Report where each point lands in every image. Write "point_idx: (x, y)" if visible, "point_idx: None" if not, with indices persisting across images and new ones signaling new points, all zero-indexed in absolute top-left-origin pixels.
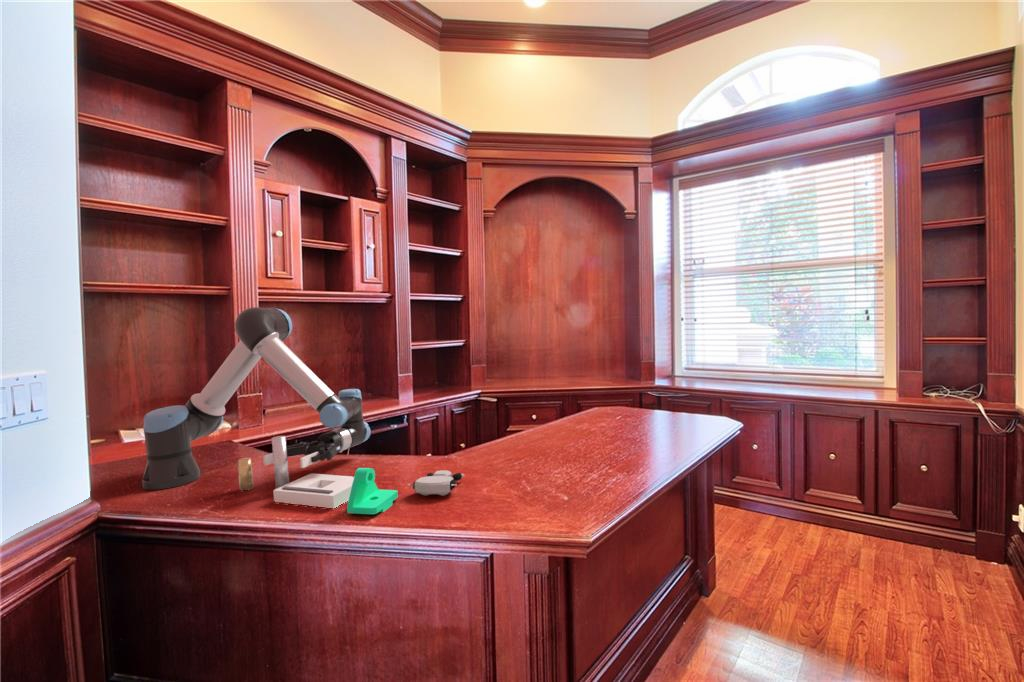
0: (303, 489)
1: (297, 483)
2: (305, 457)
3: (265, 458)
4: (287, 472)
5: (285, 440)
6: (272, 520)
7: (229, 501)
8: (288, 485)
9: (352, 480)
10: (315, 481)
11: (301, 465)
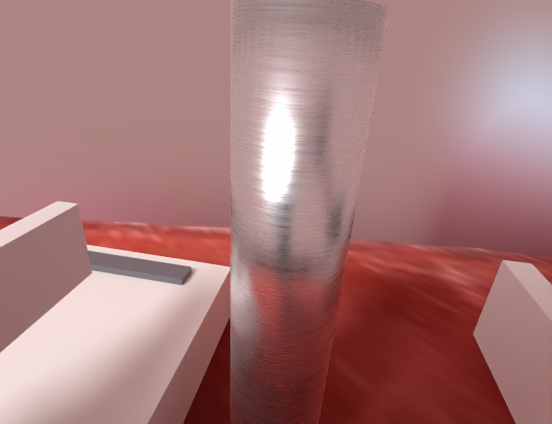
0: None
1: (133, 329)
2: (26, 219)
3: (496, 283)
4: (230, 336)
5: (231, 52)
6: (164, 229)
7: (460, 332)
8: (180, 308)
9: None
10: (4, 357)
11: (81, 254)
